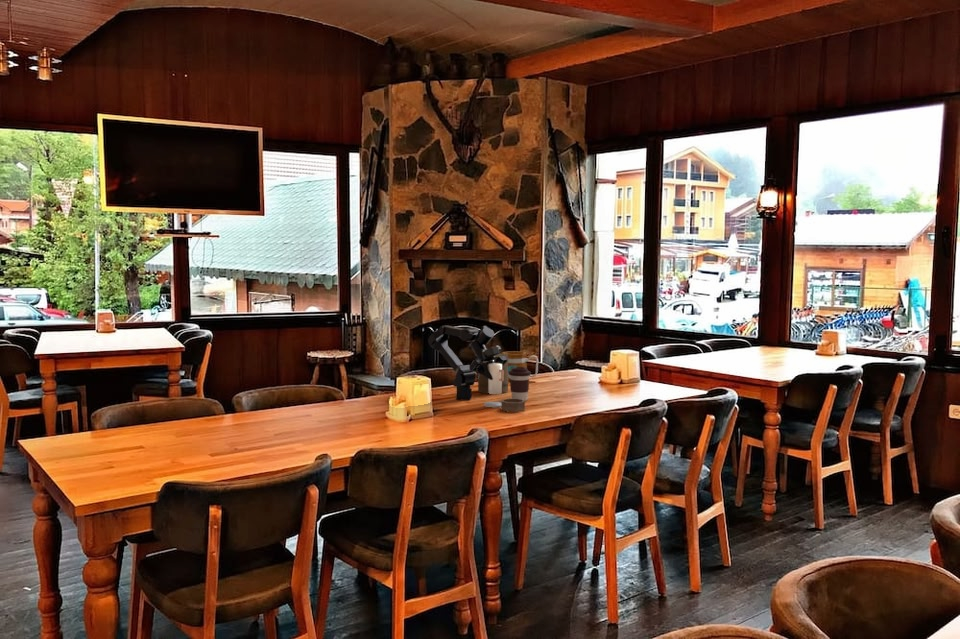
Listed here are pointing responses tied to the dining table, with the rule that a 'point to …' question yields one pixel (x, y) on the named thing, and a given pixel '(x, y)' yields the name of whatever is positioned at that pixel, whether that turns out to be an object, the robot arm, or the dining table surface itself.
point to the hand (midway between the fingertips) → (497, 378)
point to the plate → (493, 404)
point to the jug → (495, 378)
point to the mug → (519, 361)
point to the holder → (513, 405)
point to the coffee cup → (519, 382)
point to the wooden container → (484, 380)
